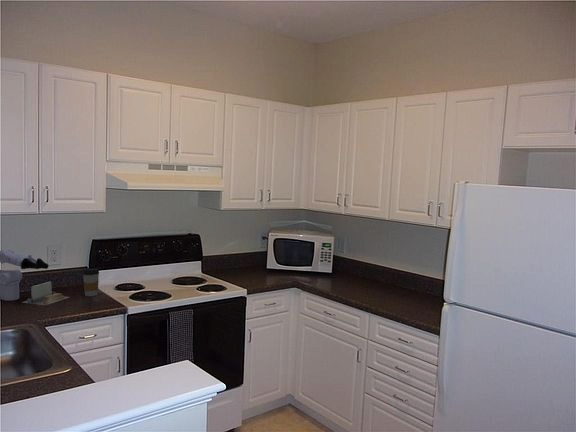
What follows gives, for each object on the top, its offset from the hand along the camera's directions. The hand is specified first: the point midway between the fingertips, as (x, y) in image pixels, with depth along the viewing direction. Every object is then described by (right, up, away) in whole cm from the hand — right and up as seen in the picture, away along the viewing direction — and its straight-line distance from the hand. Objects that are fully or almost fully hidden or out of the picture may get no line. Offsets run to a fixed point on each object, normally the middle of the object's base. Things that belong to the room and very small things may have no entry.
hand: (42, 266), depth 240 cm
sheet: (-4, -18, +7) cm, 19 cm away
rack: (-1, -19, +6) cm, 20 cm away
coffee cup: (+17, -18, +18) cm, 31 cm away
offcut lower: (+4, -18, +5) cm, 19 cm away
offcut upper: (+4, -17, +4) cm, 18 cm away
